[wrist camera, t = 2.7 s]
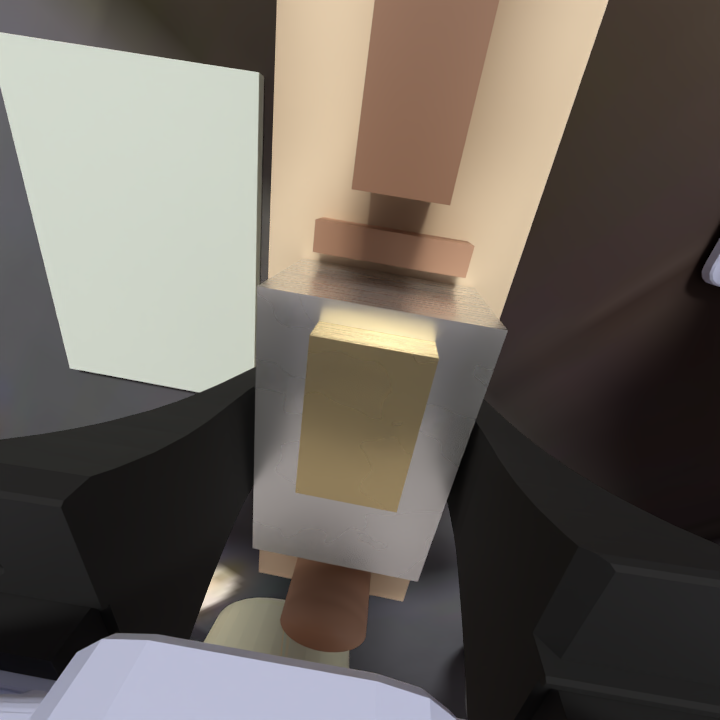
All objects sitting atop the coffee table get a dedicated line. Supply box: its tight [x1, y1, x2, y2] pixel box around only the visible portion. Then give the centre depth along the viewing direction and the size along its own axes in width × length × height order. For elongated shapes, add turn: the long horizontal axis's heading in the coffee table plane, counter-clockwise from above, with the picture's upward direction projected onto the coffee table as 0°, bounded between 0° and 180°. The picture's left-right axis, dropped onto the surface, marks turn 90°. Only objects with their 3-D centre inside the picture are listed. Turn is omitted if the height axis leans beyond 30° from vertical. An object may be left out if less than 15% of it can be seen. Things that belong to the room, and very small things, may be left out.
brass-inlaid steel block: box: [253, 258, 508, 582], centre depth 10 cm, size 5×8×4 cm, turn 172°
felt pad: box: [0, 33, 264, 393], centre depth 12 cm, size 8×11×1 cm
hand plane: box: [259, 0, 608, 652], centre depth 11 cm, size 7×22×6 cm, turn 171°
